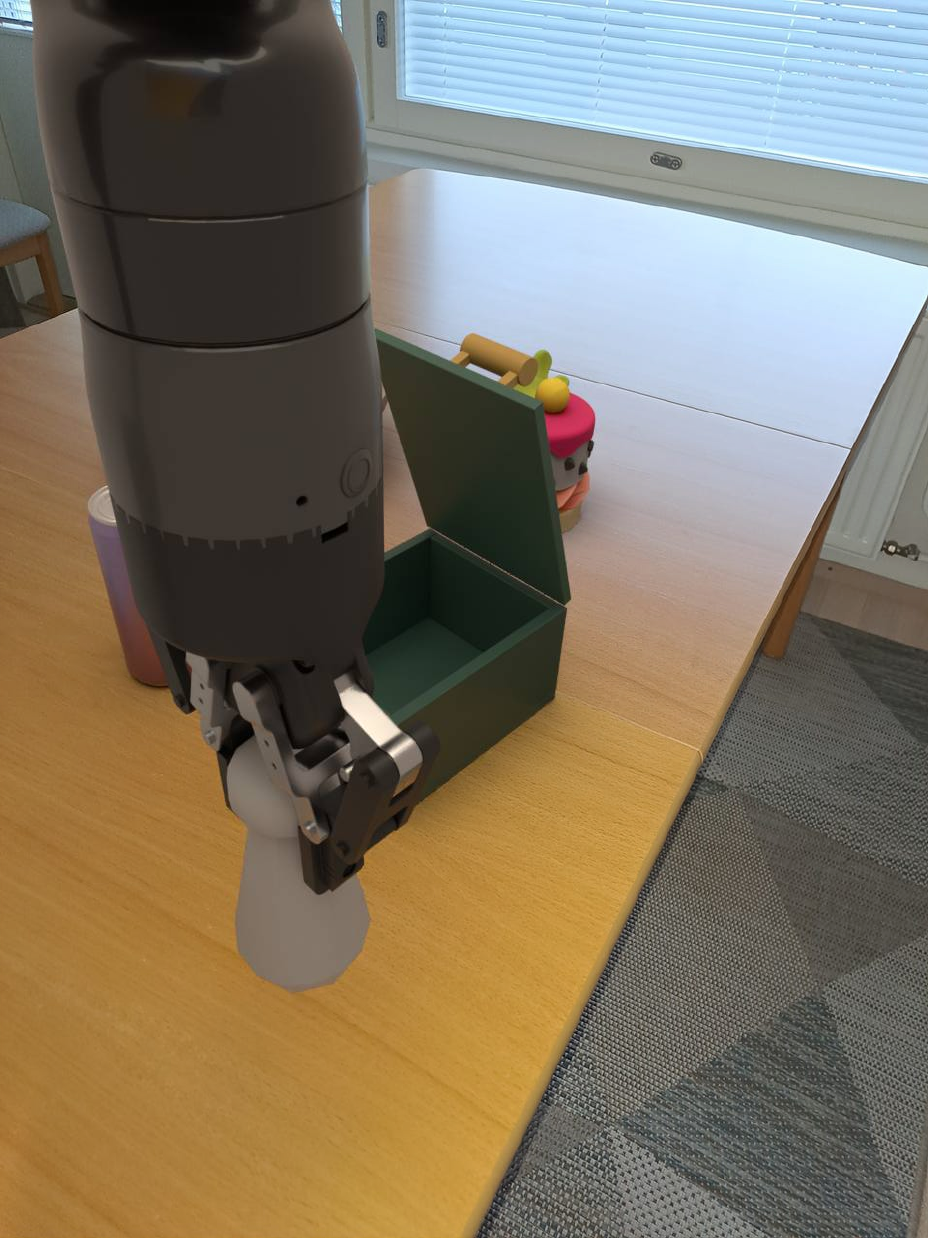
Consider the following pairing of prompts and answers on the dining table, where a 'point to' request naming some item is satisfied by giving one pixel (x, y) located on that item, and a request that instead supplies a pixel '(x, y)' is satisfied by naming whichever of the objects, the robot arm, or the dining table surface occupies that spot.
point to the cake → (564, 437)
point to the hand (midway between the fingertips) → (292, 837)
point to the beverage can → (123, 593)
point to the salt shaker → (287, 888)
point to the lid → (479, 454)
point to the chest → (460, 649)
